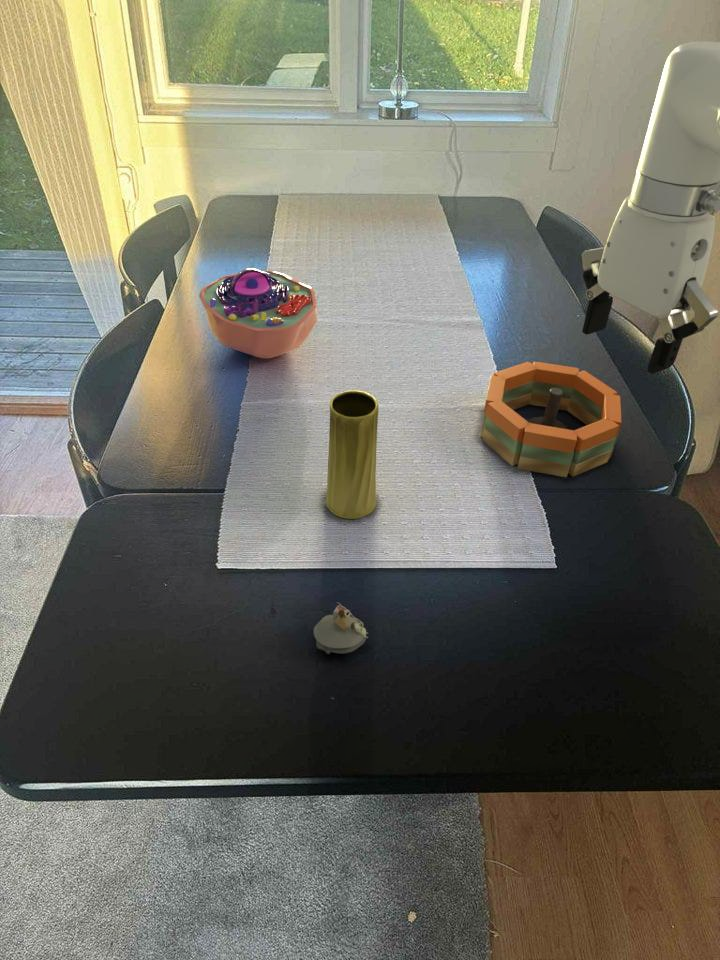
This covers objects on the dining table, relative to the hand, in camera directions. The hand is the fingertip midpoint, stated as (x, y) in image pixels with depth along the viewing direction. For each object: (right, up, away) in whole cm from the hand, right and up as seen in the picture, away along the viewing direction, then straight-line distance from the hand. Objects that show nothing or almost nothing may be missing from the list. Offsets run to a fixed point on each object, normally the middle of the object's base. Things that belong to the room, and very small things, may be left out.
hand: (624, 349), depth 79 cm
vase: (-31, -18, +5) cm, 36 cm away
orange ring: (-5, -6, +14) cm, 15 cm away
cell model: (-45, +6, +32) cm, 56 cm away
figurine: (-32, -31, -10) cm, 45 cm away
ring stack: (-5, -8, +16) cm, 19 cm away
